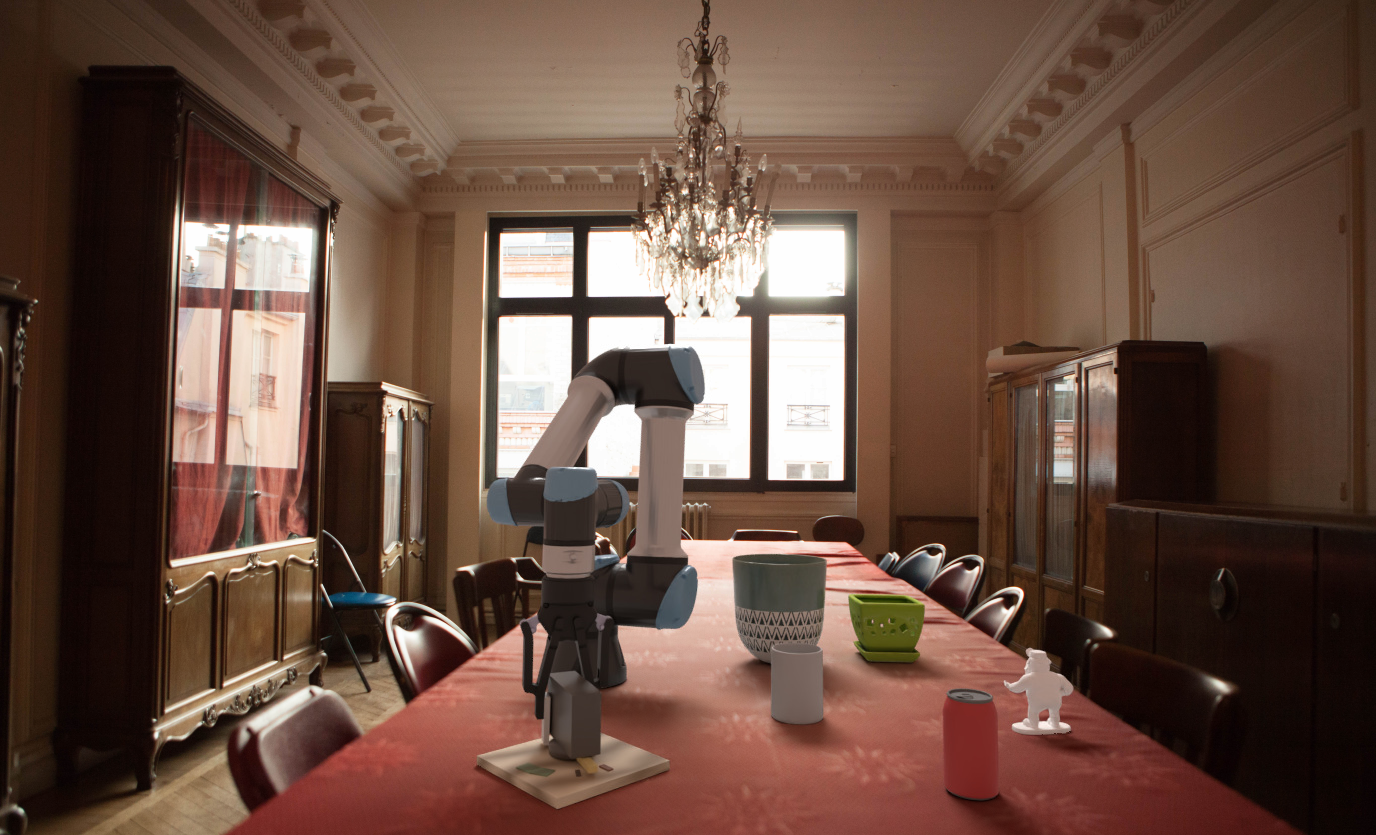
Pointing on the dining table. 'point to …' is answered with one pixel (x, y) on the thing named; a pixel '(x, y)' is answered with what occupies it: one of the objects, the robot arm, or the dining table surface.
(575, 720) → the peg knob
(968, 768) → the beer can
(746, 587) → the planter
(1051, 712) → the figurine
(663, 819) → the dining table surface
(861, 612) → the flower pot
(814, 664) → the mug
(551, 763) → the board
